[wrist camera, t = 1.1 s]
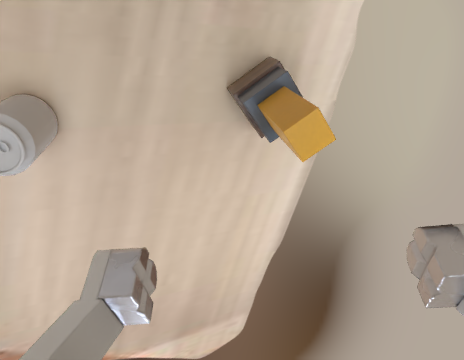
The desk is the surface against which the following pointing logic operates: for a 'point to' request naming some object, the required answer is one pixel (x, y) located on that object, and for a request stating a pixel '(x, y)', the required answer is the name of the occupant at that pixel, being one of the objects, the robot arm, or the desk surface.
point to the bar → (297, 122)
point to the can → (24, 132)
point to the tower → (261, 93)
